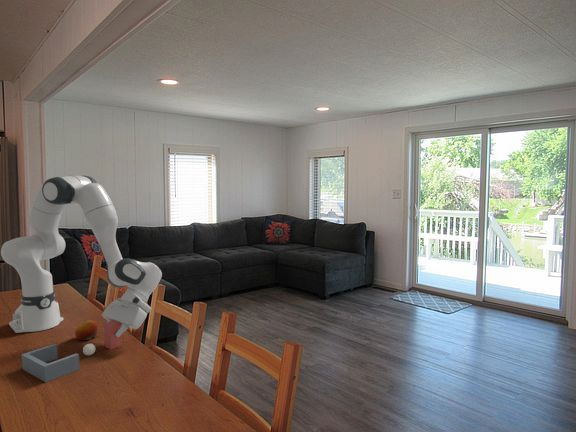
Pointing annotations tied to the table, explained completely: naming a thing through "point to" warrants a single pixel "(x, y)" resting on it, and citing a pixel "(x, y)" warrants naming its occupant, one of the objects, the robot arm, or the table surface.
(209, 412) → the table surface
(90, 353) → the ball
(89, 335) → the fruit
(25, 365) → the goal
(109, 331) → the red tall block
